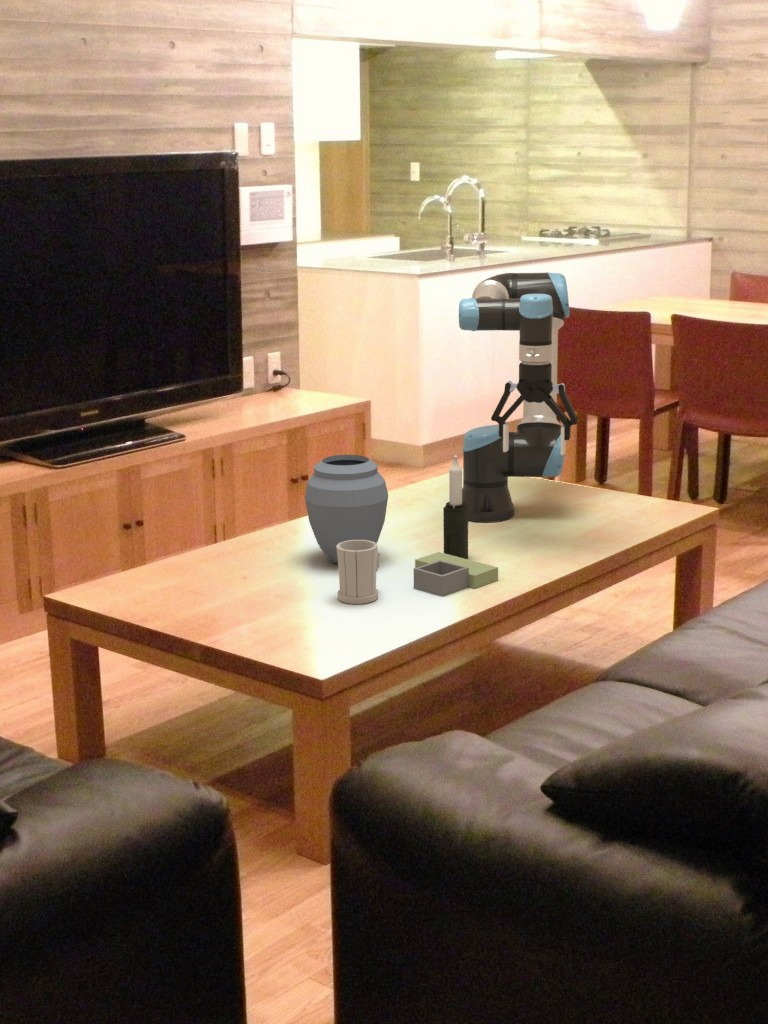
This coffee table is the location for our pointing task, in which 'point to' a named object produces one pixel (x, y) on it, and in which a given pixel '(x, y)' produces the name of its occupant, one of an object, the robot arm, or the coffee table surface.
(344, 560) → the cup
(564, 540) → the coffee table surface
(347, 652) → the coffee table surface
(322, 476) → the vase
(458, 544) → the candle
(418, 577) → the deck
